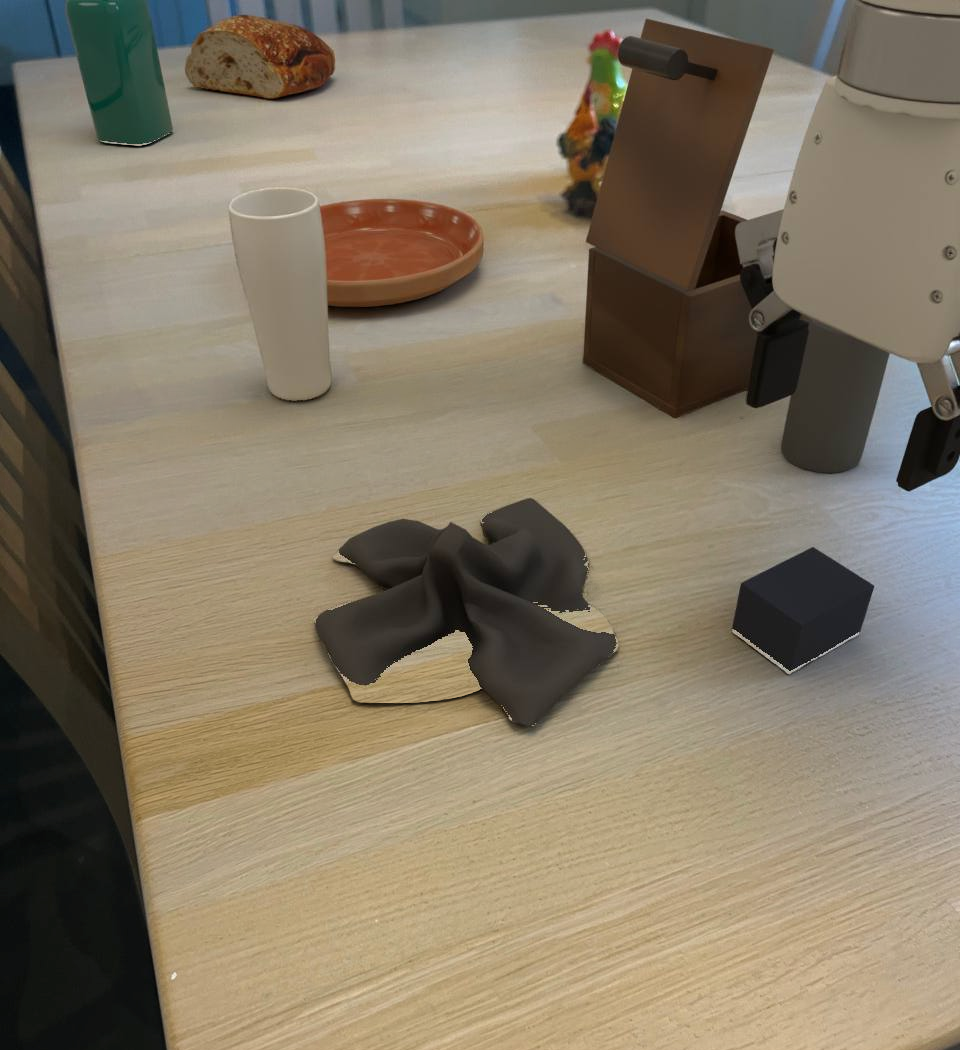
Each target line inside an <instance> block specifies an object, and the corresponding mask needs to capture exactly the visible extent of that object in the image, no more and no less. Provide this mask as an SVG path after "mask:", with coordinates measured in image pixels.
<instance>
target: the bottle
mask: <svg viewBox="0 0 960 1050" xmlns="http://www.w3.org/2000/svg"><path fill="white" fill-rule="evenodd" d="M806 322H808V323H809V326H808V329H809V334H808V338H807V343H806V348H805V352H804V357H803V361H802V366H801V371H800V375H799V380H798V384H797V389H796V391H795V393H794V394H793V395H791V396H790V398H789V402H788V406H787V407H788V408H787V413H786V418H785V422H784V428H783V432H782V438H781V445H780V449H781V450H780V451H781V453H782V455H783V457H784V458H785V459H786V460H787V461H789V463H791V464H794V465H795V466H797V467H799V468H801V469H804V470H808V471H811V472H815V473H816V472H817V473H824V474H833V473H843V472H846V471H848V470H851V469H854V468H855V467H856V466H858V464H859V463H860V461H861V460H862V457H863V453H864V450H865V447H866V444H867V440H868V436H869V432H870V430H871V429H870V428H871V425H872V421H873V418H874V415H875V411H876V406H877V403H878V399H879V396H880V392H881V388H882V386H883V385H882V384H883V381H884V378H885V373H886V369H887V367H888V366H887V365H888V361H889V358H890V354H891V353H888V352H886V351H884V350H881V349H879V348H877V347H875V346H872V345H870V344H868V343H866V342H863V341H861V340H859V339H856V338H854V337H852V336H850V335H847V334H845V333H843V332H841V331H838V330H836V329H834V328H832V327H830V326H827V325H825V324H823V323H821V322H819V321H817V320H814V319H812V318H810V317H807V321H806Z"/></svg>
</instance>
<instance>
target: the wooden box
mask: <svg viewBox="0 0 960 1050" xmlns="http://www.w3.org/2000/svg"><path fill="white" fill-rule="evenodd" d="M746 220H748V219H747V218H744V217H742V216H739V215H736V214H733V213H731V212H728V211H725V210H722V209H721V212H720V215H719V218H718V221H717V224H716V227H715V230H714V233H713V236H712V239H711V242H710V245H709V248H708V251H707V254H706V257H705V260H704V263H703V266H702V269H701V272H700V275H699V278H698V281H697V284H696V287H695V290H686V289H684V288H682V287H680V286H678V285H675V284H673V283H671V282H669V281H667V280H665V279H663V278H661V277H658V276H656V275H654V274H652V273H650V272H648V271H646V270H644V269H641V268H639V267H637V266H635V265H633V264H631V263H629V262H627V261H625V260H622V259H620V258H618V257H616V256H614V255H612V254H610V253H608V252H605V251H603V250H601V249H599V248H597V247H595V246H593V247H589V249H588V264H587V278H586V279H587V280H586V299H585V316H584V317H585V318H584V336H583V351H582V352H583V355H582V364H583V365H585V366H587V367H588V368H590V369H592V370H594V371H595V372H597V373H598V374H600V375H602V376H604V377H606V378H607V379H609V380H610V381H612V382H614V383H615V384H617V385H619V386H621V387H623V388H624V389H625V390H627V391H629V392H631V393H633V394H634V395H636V396H638V397H639V398H640V399H643V400H645V401H646V402H648V403H649V404H651V405H653V406H654V407H656V408H657V409H659V410H662V411H663V412H664V413H666V414H668V415H670V416H672V418H677V417H681V416H682V415H686V414H688V413H690V412H693V411H696V410H698V409H701V408H703V407H706V406H708V405H711V404H713V403H716V402H718V401H721V400H723V399H726V398H729V397H731V396H733V395H736V394H739V393H741V392H744V391H746V390H748V386H749V381H750V372H751V367H752V361H753V356H754V350H755V345H756V339H757V334H758V332H757V331H755V330H754V329H752V327H751V326H750V323H749V314H750V311H751V310H752V308H751V305H750V303H749V301H748V298H747V296H746V294H745V291H744V289H743V287H742V284H741V281H740V273H741V271H742V269H743V264H740V259H739V254H738V248H737V243H736V238H735V228H736V226H737V224H738V223H740V222H743V221H746ZM776 244H777V239H776V240H775V242H774V245H773V251H774V255H772V257H773V260H774V256H775V250H776ZM807 317H808V316H806V315H804V314H803V315H802V316H801V317H800V320H804V321H807Z"/></svg>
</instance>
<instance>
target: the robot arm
mask: <svg viewBox="0 0 960 1050" xmlns="http://www.w3.org/2000/svg"><path fill="white" fill-rule="evenodd" d="M843 37H844V38H843V42H842V47H841V52H840V57H839V62H838V67H837V73H836V75H834V76H831V77H829V78H828V79H827V80H825V82H824V85H823V87H822V90H821V92H820V95H819V96H818V98H817V102H816V104H815V106H814V109H813V112H812V115H811V117H810V120H809V123H808V125H807V129H806V131H805V134H804V137H803V139H802V143H801V146H800V149H799V152H798V156H797V159H796V161H795V162H796V163H795V166H794V170H793V173H792V178H791V180H790V184H789V187H788V192H787V195H786V199H785V203H784V207H783V208H782V209H779V210H776V211H772V212H770V213H766V214H763V215H759V216H756V217H752V218H750V219H747V220H746V221H743V222H740V223H738V224H737V226H736V228H735V238H736V243H737V248H738V254H739V259H740V264H743V269H742V271H741V273H740V281H741V284H742V287H743V289H744V291H745V294H746V296H747V298H748V301H749V303H750V305H751V308H752V310H751V311H750V314H749V323H750V326H751V327H752V329H754V330H755V331H757V332H758V334H757V339H756V345H755V350H754V356H753V361H752V367H751V372H750V381H749V386H748V389H747V393H746V397H745V404H746V405H748V406H749V407H751V408H753V409H760V408H763V407H765V406H768V405H770V404H773V403H775V402H778V401H781V400H783V399H785V398H789V397H791V395H793V394H794V393H795V391H796V389H797V384H798V380H799V375H800V371H801V366H802V361H803V357H804V352H805V348H806V343H807V338H808V334H809V329H808V326H809V323H808V322H806V321H804V320H800V317H801V316H802V315H803V314H804V315H806V316H808V317H810V318H812V319H814V320H817V321H819V322H821V323H823V324H825V325H827V326H830V327H832V328H834V329H836V330H838V331H841V332H843V333H845V334H847V335H850V336H852V337H854V338H856V339H859V340H861V341H863V342H866V343H868V344H870V345H872V346H875V347H877V348H879V349H881V350H884V351H886V352H888V353H890V354H891V355H893V356H895V357H898V358H900V359H903V360H906V361H908V362H912V363H916V366H917V369H918V372H919V375H920V377H921V380H922V383H923V386H924V390H925V392H926V395H927V397H928V400H929V403H930V406H929V407H926V408H924V409H922V410H920V411H918V413H917V414H916V415H915V418H914V421H913V424H912V427H911V430H910V434H909V437H908V440H907V443H906V446H905V450H904V453H903V457H902V459H901V462H900V466H899V469H898V472H897V476H896V478H895V480H896V481H895V482H896V483H897V487H899V488H900V489H902V490H904V491H906V492H907V493H910V492H911V491H914V490H916V489H918V488H920V487H922V486H924V485H926V484H929V483H930V482H932V481H934V480H936V479H939V478H942V477H944V476H946V475H948V474H949V473H950V472H951V471H952V470H954V469H955V467H956V465H957V463H958V462H959V460H960V0H851V3H850V6H849V12H848V17H847V21H846V27H845V33H844V36H843ZM776 239H777V244H776V250H775V256H774V260H773V257H772V255H774V251H773V245H774V242H775V240H776ZM952 365H953V366H952Z"/></svg>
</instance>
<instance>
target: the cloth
mask: <svg viewBox="0 0 960 1050" xmlns="http://www.w3.org/2000/svg"><path fill="white" fill-rule="evenodd" d="M491 512H492V513H490V512H488V513H489V514H488V513H486V514H487V515H486V514H485V515H486V516H485V515H484V516H485V517H484V516H483V517H484V518H483V517H482V518H483V519H482V522H484V523H483V525H482V529H483V533H484V536H485V538H486V539H487V541H489V542H490V543H491V544H490V545H487V544H486V543H484V542H482V541H480V540H478V539H477V538H475V537H474V536H472V535H471V534H470V532H468V530H467V529H466V528H463V527H461V526H460V525H458V524H456V523H454V522H453V521H450V522H449V523H448V524H447V526H445V527H444V528H442V529H439V528H435V527H433V526H431V525H428V524H427V523H424V522H421V521H419V520H414V519H408V518H400V519H395V520H391V521H387V522H385V523H382V524H380V525H376V526H373V527H371V528H369V529H366V530H364V531H362V532H360V533H358V534H355V535H354V536H351V537H349V538H348V539H347V540H346V542H344V543H343V544H342V546H341V547H340V548H338V550H339V553H340V555H342V556H344V557H345V558H347V559H348V560H350V561H351V562H352V563H355V564H356V565H355V566H357V568H358V569H360V570H361V572H362V573H363V574H365V576H366V577H367V578H369V579H370V581H372V582H373V583H375V584H376V585H377V586H379V587H381V588H382V589H384V588H385V589H384V590H382V591H381V592H378V593H375V594H371V595H367V596H365V597H362V598H359V599H356V600H352V601H353V602H352V601H350V602H351V603H348V602H347V603H348V604H346V605H343V606H341V607H338V608H335V609H333V610H327V609H325V610H326V611H325V610H323V611H322V612H323V613H322V612H321V613H319V614H320V615H319V614H318V615H319V616H318V615H317V616H318V618H317V619H316V625H315V624H314V625H315V630H316V634H317V633H318V634H317V636H318V639H319V641H320V642H321V643H322V644H323V646H324V648H325V650H326V652H327V654H328V653H329V655H330V657H331V659H330V661H331V660H332V661H331V663H332V662H333V663H332V665H333V666H334V665H335V666H336V667H337V668H338V670H339V671H340V673H341V674H343V676H345V677H347V679H349V681H351V682H354V683H356V684H359V685H365V686H366V685H369V684H370V683H375V682H376V680H378V679H377V678H379V677H381V676H380V674H381V673H383V672H384V670H386V668H388V667H390V665H392V664H393V663H395V662H398V660H401V658H404V656H407V655H411V653H412V652H415V651H416V650H420V649H422V648H424V647H427V646H428V645H431V644H432V643H434V642H435V641H437V640H438V639H442V637H445V636H448V634H451V633H454V632H455V630H459V631H460V632H465V633H466V635H467V637H468V638H469V639H468V640H469V641H470V643H471V644H472V646H473V647H472V648H473V650H472V655H471V657H470V658H469V659H468V663H469V666H470V670H471V671H472V673H473V674H474V676H475V677H476V678H477V680H478V682H479V685H480V687H481V688H482V690H483V691H484V692H485V694H487V695H488V696H489V697H490V698H491V699H492V698H493V699H494V700H493V699H492V700H493V701H495V702H496V701H497V702H498V703H499V704H500V705H502V707H504V709H505V711H507V712H506V713H508V715H510V717H511V718H512V721H514V722H515V724H519V725H523V726H527V727H533V726H532V725H535V723H537V724H538V723H539V722H540V721H541V720H542V719H543V717H545V716H546V715H547V714H548V713H549V712H550V711H551V710H552V709H553V708H554V707H555V706H556V705H557V704H558V703H559V702H560V701H562V700H563V699H564V698H565V697H566V696H567V695H568V694H569V693H570V692H572V691H573V689H575V688H576V687H577V686H578V685H579V684H580V682H581V681H582V680H583V679H584V678H586V676H587V675H589V674H590V673H592V672H593V671H594V670H595V669H597V668H598V667H599V666H600V665H601V664H603V663H604V662H605V661H606V660H608V659H609V658H610V657H612V655H613V654H612V653H613V652H614V651H613V650H614V649H615V648H616V647H615V646H616V644H617V643H616V639H615V635H614V634H609V633H606V632H601V633H596V632H591V631H587V630H583V629H580V628H578V627H576V626H574V625H572V624H570V623H568V622H566V621H563V620H562V619H560V618H559V617H557V616H555V615H554V614H552V613H551V612H549V611H547V610H546V609H544V608H551V611H560V612H559V613H562V612H566V611H565V610H569V612H573V611H583V610H590V607H588V605H589V604H590V603H588V601H586V599H585V597H584V596H583V593H584V591H583V590H584V583H585V580H586V577H587V576H588V574H587V573H589V571H588V568H587V566H585V565H584V564H585V563H586V562H587V561H589V559H588V556H587V557H584V556H585V553H586V551H585V549H584V548H583V546H582V544H581V543H580V541H579V540H578V539H577V537H576V536H575V535H574V534H573V532H571V530H570V529H569V528H567V526H566V525H565V524H564V523H563V522H561V521H560V520H559V519H557V518H556V517H555V516H554V515H553V514H552V513H551V512H549V511H548V510H547V508H545V507H544V506H543V505H542V504H540V503H539V502H538V501H537V500H536V499H535V498H532V497H527V498H523V499H521V500H518V501H516V502H512V503H510V504H507V505H504V506H501V507H499V508H497V509H495V510H492V511H491ZM584 558H585V560H583V559H584ZM588 565H589V566H590V562H589V563H588ZM587 571H588V572H587ZM584 579H585V580H584ZM533 602H538V603H533ZM538 605H547V606H548V607H540V606H538ZM585 608H586V609H585ZM577 609H578V610H577ZM548 610H549V609H548ZM588 612H590V611H588ZM611 654H612V655H611ZM329 655H328V656H329ZM609 656H610V657H609ZM330 657H329V658H330ZM608 657H609V658H608ZM394 661H395V662H394ZM603 661H604V662H603ZM602 662H603V663H602ZM599 664H600V665H599ZM598 665H599V666H598ZM335 666H334V667H335ZM387 666H388V667H387ZM597 666H598V667H597ZM593 669H594V670H593ZM592 670H593V671H592ZM588 673H589V674H588ZM375 679H376V680H375ZM563 697H564V698H563ZM497 702H496V703H497ZM557 702H558V703H557ZM498 703H497V704H498ZM499 704H498V705H499ZM500 705H499V706H500ZM550 709H551V710H550ZM549 710H550V711H549ZM548 711H549V712H548ZM547 712H548V713H547ZM506 713H505V714H506ZM540 719H541V720H540ZM538 721H539V722H538ZM514 722H513V723H514ZM535 726H536V725H535Z"/></svg>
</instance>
